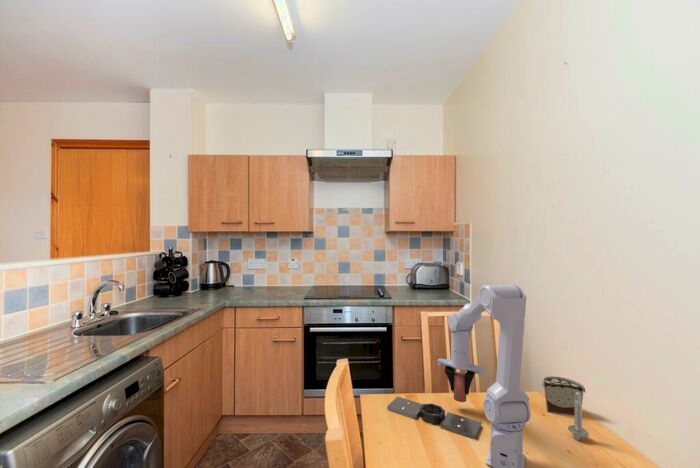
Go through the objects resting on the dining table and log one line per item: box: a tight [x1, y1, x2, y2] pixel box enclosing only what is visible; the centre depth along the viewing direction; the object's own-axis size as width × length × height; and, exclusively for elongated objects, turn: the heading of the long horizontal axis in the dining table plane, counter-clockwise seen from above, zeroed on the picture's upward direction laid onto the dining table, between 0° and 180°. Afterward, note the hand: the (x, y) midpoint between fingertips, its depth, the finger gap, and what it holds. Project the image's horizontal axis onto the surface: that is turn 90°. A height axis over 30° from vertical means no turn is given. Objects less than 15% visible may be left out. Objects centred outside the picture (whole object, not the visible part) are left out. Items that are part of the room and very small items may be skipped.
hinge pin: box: [453, 371, 467, 403], centre depth 103 cm, size 4×4×8 cm
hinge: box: [386, 396, 482, 440], centre depth 98 cm, size 8×28×2 cm, turn 57°
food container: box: [541, 376, 586, 417], centre depth 104 cm, size 12×6×10 cm, turn 74°
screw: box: [567, 392, 590, 442], centre depth 89 cm, size 13×5×5 cm
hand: (459, 391), depth 103 cm, fingers closed on hinge pin, 4 cm apart
